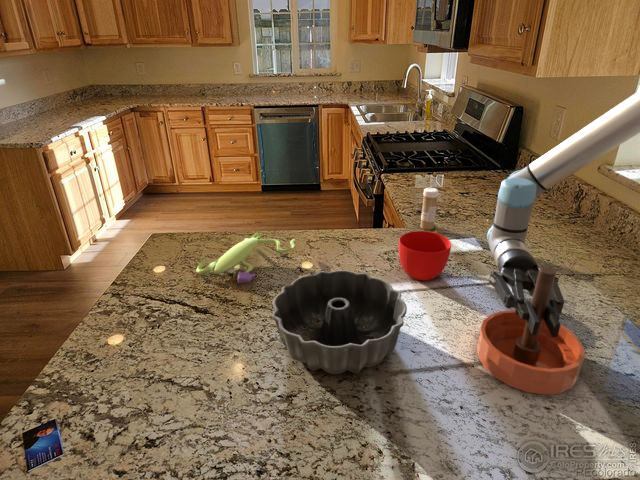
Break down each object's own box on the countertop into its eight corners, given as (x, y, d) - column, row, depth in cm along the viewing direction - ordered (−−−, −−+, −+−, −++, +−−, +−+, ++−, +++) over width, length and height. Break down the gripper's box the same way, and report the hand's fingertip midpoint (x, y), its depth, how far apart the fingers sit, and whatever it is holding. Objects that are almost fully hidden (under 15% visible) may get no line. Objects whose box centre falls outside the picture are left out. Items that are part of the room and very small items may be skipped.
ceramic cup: (455, 264, 117) (461, 231, 113) (438, 293, 104) (442, 258, 100) (411, 253, 123) (414, 222, 119) (388, 280, 110) (391, 245, 106)
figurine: (305, 256, 122) (305, 238, 120) (233, 296, 104) (231, 276, 101) (261, 238, 133) (260, 222, 131) (189, 272, 114) (186, 253, 112)
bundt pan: (259, 383, 78) (255, 340, 73) (288, 302, 101) (286, 266, 97) (405, 398, 74) (410, 353, 70) (400, 310, 98) (404, 273, 94)
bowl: (577, 351, 85) (585, 327, 82) (573, 412, 71) (583, 385, 69) (486, 324, 93) (491, 301, 90) (467, 374, 80) (471, 349, 77)
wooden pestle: (539, 353, 82) (563, 268, 74) (536, 366, 79) (561, 279, 71) (515, 345, 84) (535, 262, 76) (511, 358, 81) (532, 272, 73)
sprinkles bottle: (417, 226, 141) (421, 188, 135) (430, 225, 142) (434, 186, 136) (423, 232, 137) (428, 192, 131) (436, 230, 138) (441, 191, 132)
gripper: (549, 281, 93) (590, 352, 73) (475, 275, 96) (493, 341, 75) (557, 251, 90) (602, 316, 69) (480, 245, 93) (501, 306, 72)
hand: (545, 329), depth 72 cm, fingers closed on wooden pestle, 3 cm apart
